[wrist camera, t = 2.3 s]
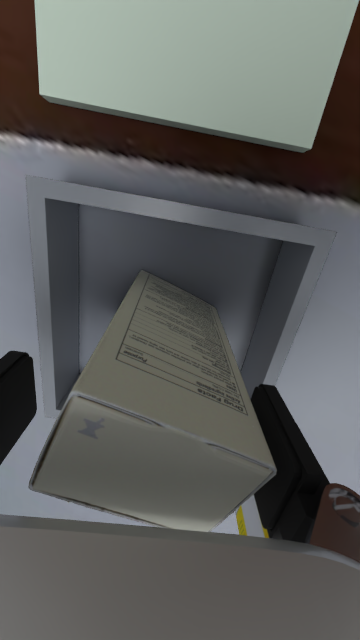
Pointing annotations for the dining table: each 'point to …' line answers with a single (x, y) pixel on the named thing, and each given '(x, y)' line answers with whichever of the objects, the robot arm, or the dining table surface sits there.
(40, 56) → the pad
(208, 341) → the skincare box
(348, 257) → the dining table surface
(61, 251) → the bin
